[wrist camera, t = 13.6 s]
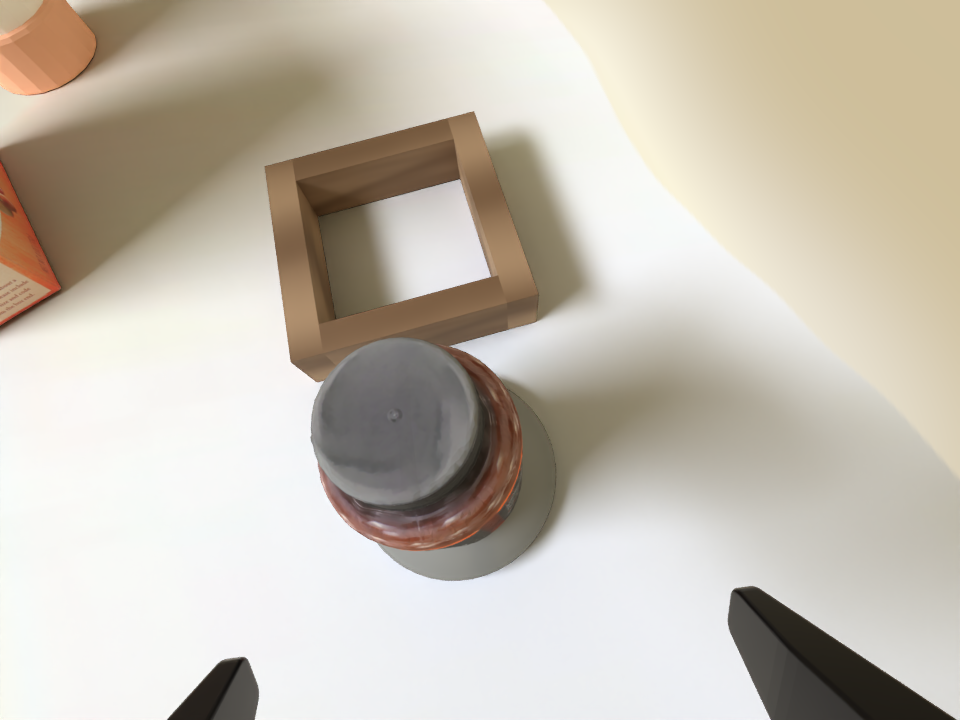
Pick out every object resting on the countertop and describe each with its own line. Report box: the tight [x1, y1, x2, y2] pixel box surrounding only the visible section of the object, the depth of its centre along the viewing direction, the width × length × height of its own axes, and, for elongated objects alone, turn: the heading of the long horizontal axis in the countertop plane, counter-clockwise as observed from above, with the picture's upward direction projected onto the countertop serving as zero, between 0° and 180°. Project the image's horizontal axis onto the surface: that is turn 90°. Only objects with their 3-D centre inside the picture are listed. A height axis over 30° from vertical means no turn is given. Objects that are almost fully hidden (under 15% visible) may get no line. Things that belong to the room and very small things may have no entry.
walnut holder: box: [265, 111, 539, 382], centre depth 25 cm, size 12×12×3 cm
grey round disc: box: [378, 389, 556, 581], centre depth 22 cm, size 9×9×1 cm
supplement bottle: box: [311, 337, 523, 551], centre depth 16 cm, size 6×6×11 cm
